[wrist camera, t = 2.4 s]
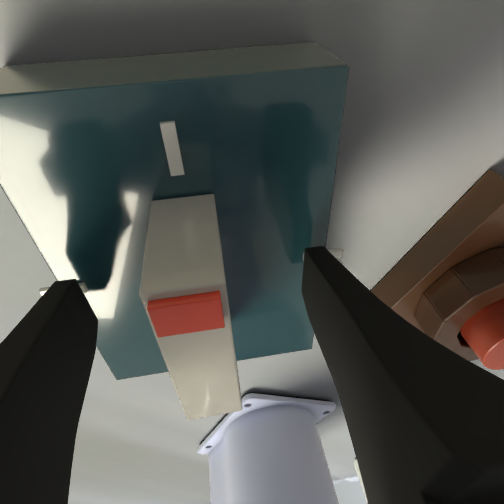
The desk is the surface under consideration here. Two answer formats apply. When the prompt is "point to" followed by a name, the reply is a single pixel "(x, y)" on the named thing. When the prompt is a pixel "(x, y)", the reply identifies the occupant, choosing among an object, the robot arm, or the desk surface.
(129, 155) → the tap plate
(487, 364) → the button
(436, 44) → the desk surface
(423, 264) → the button block
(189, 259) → the tap handle
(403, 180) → the desk surface
